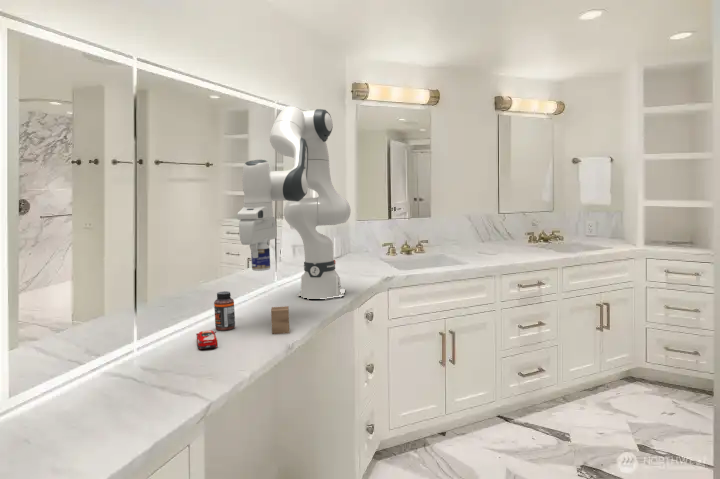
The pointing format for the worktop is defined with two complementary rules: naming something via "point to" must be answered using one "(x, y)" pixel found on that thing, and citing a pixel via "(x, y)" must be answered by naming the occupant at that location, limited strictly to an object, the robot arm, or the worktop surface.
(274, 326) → the walnut block
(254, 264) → the pill bottle
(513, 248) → the worktop surface
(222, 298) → the supplement bottle
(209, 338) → the race car
